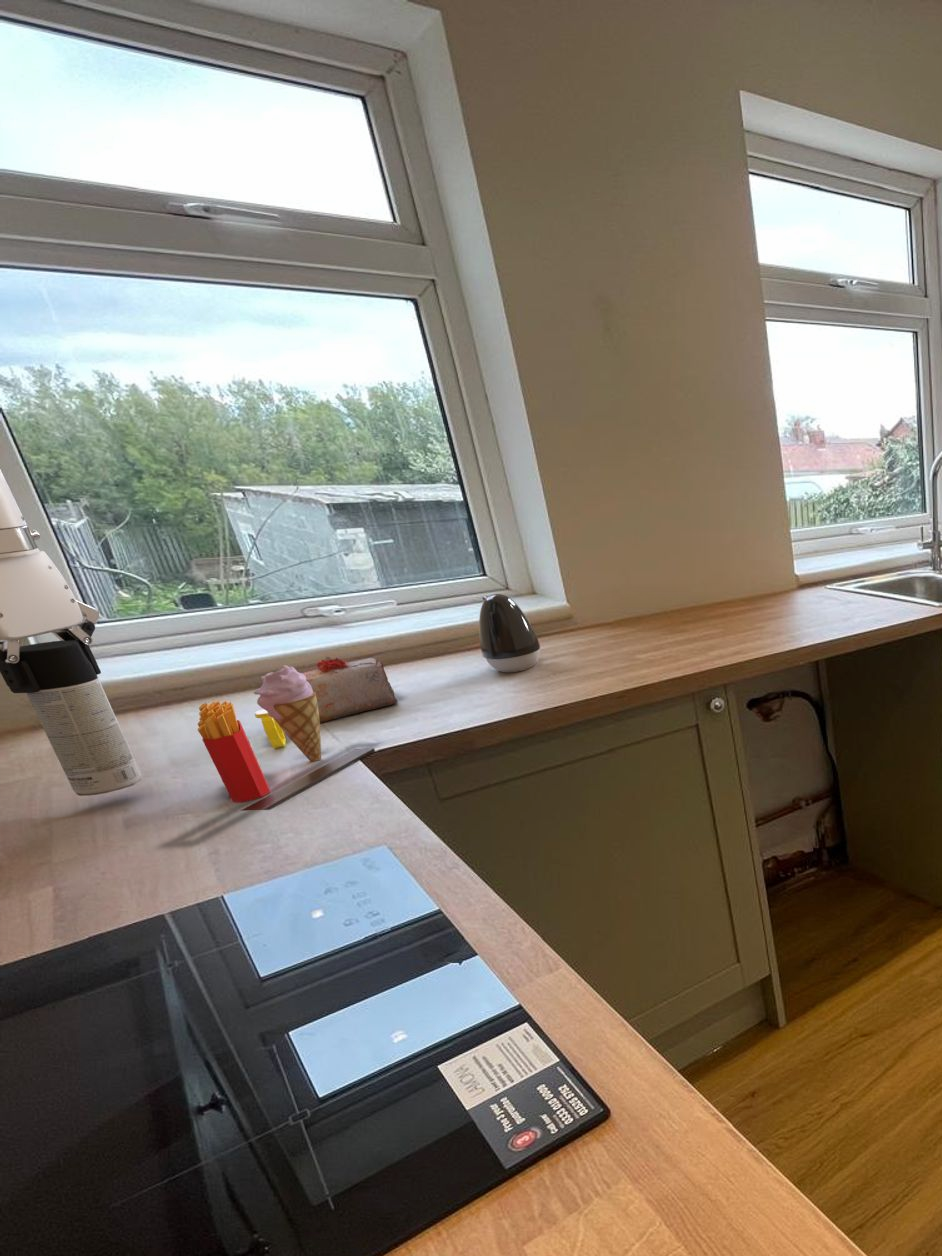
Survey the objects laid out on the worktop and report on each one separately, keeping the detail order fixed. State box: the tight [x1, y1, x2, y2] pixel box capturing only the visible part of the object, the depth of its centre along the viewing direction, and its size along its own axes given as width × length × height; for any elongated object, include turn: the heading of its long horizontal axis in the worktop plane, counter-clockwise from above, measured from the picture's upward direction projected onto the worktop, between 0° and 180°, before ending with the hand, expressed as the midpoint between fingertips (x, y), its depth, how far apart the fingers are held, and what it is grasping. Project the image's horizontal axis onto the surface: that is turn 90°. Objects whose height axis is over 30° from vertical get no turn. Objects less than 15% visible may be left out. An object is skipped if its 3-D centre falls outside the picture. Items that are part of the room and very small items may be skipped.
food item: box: [300, 656, 399, 724], centre depth 142 cm, size 14×8×10 cm, turn 138°
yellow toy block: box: [254, 708, 287, 749], centre depth 129 cm, size 6×3×6 cm, turn 37°
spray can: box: [19, 640, 143, 797], centre depth 108 cm, size 7×7×20 cm
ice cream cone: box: [253, 664, 322, 762], centre depth 120 cm, size 7×6×15 cm
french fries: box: [197, 700, 271, 803], centre depth 110 cm, size 9×4×13 cm, turn 44°
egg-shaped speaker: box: [478, 593, 541, 673], centre depth 161 cm, size 10×10×15 cm
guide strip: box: [240, 747, 376, 812], centre depth 112 cm, size 3×30×1 cm, turn 179°
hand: (58, 682), depth 106 cm, fingers closed on spray can, 6 cm apart
